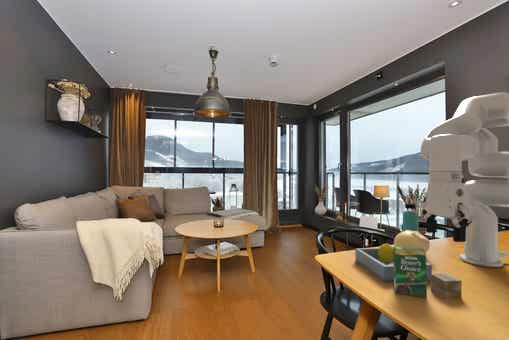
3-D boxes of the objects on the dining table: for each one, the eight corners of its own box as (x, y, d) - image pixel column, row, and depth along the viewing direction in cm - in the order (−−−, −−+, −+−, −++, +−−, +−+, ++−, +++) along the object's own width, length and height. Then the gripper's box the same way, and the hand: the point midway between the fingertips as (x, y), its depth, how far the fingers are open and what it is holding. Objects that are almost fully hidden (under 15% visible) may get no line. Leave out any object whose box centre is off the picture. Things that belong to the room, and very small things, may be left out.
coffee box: (394, 293, 74) (394, 248, 74) (392, 289, 77) (393, 245, 76) (427, 298, 71) (427, 251, 71) (424, 294, 74) (424, 248, 74)
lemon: (380, 267, 91) (380, 244, 91) (376, 261, 97) (376, 240, 97) (397, 268, 90) (397, 245, 90) (392, 262, 96) (392, 241, 96)
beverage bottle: (413, 250, 113) (413, 204, 113) (398, 245, 119) (399, 203, 119) (422, 247, 116) (422, 204, 116) (407, 244, 122) (407, 202, 122)
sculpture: (434, 262, 99) (435, 234, 99) (403, 261, 99) (403, 233, 99) (417, 252, 110) (417, 227, 110) (388, 251, 111) (389, 227, 111)
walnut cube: (446, 289, 76) (446, 273, 76) (461, 298, 71) (461, 280, 71) (430, 290, 76) (430, 273, 76) (444, 299, 71) (444, 281, 71)
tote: (394, 259, 101) (395, 247, 101) (431, 280, 83) (431, 264, 83) (355, 261, 99) (355, 248, 99) (384, 282, 81) (384, 266, 81)
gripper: (486, 178, 65) (486, 245, 66) (433, 176, 83) (433, 229, 83) (459, 178, 65) (459, 246, 65) (411, 176, 82) (411, 229, 82)
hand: (444, 236), depth 74 cm, fingers open, 9 cm apart
